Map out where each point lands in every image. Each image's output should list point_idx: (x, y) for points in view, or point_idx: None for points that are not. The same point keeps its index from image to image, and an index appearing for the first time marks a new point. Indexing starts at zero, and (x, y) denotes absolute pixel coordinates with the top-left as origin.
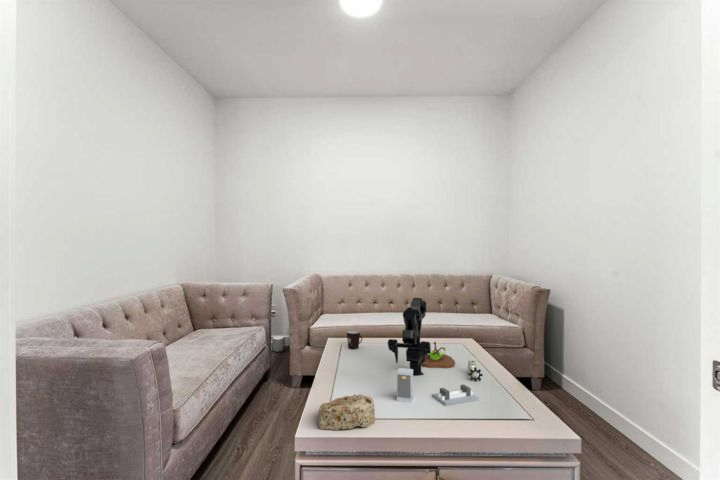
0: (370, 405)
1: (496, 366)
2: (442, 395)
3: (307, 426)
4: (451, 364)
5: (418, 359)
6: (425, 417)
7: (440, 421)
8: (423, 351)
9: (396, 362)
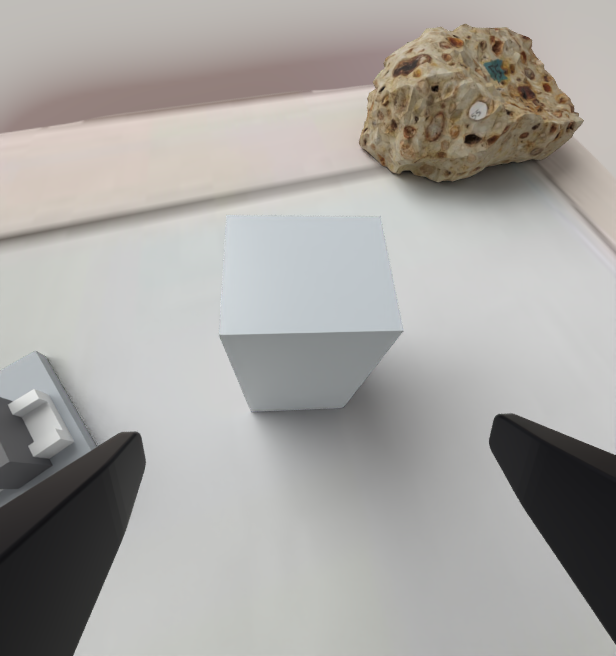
0: (388, 71)
1: None
2: (25, 432)
3: None
4: None
5: (74, 478)
6: (172, 218)
7: (107, 203)
8: None
9: (500, 417)
